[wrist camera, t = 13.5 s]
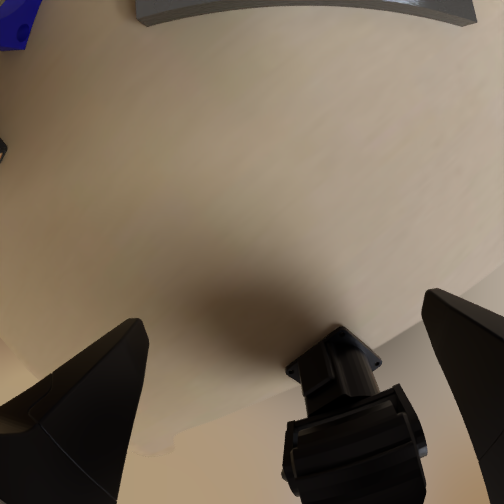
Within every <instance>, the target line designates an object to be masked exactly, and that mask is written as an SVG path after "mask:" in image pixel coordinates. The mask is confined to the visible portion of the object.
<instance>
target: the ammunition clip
mask: <svg viewBox="0 0 504 504" xmlns="http://www.w3.org/2000/svg"><path fill="white" fill-rule="evenodd" d="M6 151H7V146H6V145H5V143H4V142H3V141H2V139H1V138H0V163H1V161H2V159H3V157H4V155H5V153H6Z"/></svg>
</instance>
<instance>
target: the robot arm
mask: <svg viewBox="0 0 504 504" xmlns="http://www.w3.org/2000/svg"><path fill="white" fill-rule="evenodd" d="M421 315H422V319H423V322H424V325H425V327H426V330H427V332H428V335H429V338H430V340H431V344H432V347H433V349H434V352H435V355H436V357H437V359H438V362H439V364H440V366H441V368H442V370H443V372H444V375H445V377H446V379H447V381H448V384H449V386H450V388H451V391H452V393H453V395H454V398H455V400H456V403H457V405H458V407H459V410H460V412H461V415H462V417H463V420H464V423H465V425H466V428H467V430H468V433H469V436H470V439H471V441H472V444H473V447H474V450H475V453H476V456H477V459H478V461H479V465H480V469H481V472H482V475H483V479H484V482H485V485H486V489H487V492H488V496H489V500H490V504H504V317H503V316H501V315H498V314H496V313H494V312H492V311H490V310H487V309H485V308H483V307H481V306H478V305H476V304H474V303H472V302H469V301H467V300H464V299H462V298H460V297H458V296H455V295H453V294H451V293H448V292H446V291H444V290H441V289H439V288H434V289H428V290H427V291H426V292H425V296H424V301H423V306H422V311H421ZM341 332H343V333H342V334H340V333H341ZM148 349H149V339H148V336H147V333H146V330H145V327H144V325H143V322H142V320H141V319H139V318H129V319H127V320H125V321H124V322H122V323H121V324H120V325H118V326H117V327H115V328H114V329H112V330H111V331H110V332H108V333H107V334H105V335H104V336H103V337H101V338H100V339H98V340H97V341H95V342H94V343H93V344H91V345H90V346H88V347H87V348H86V349H84V350H83V351H81V352H80V353H79V354H77V355H76V356H74V357H73V358H72V359H70V360H69V361H67V362H66V363H65V364H63V365H62V366H60V367H59V368H58V369H56V370H55V371H53V373H50V374H49V375H48V376H46V377H45V378H44V379H42V380H41V381H39V382H38V383H36V384H35V385H34V386H32V387H31V388H29V389H27V390H26V391H24V392H23V393H21V394H20V395H18V396H16V397H15V398H13V399H11V400H10V401H8V402H7V403H5V404H3V405H2V406H0V504H117V501H116V500H117V498H118V493H119V487H120V483H121V478H122V473H123V467H124V463H125V458H126V454H127V449H128V445H129V440H130V436H131V432H132V428H133V423H134V419H135V415H136V411H137V407H138V403H139V399H140V395H141V392H142V387H143V382H144V376H145V369H146V362H147V356H148ZM376 362H377V363H376ZM381 364H382V360H381V358H380V357H379V356H377V355H376V354H375V353H374V352H373V351H372V350H371V349H369V348H368V347H367V346H366V345H365V344H364V343H363V342H361V341H360V340H359V339H358V338H357V337H356V336H354V335H353V334H352V333H351V332H350V331H349V330H348V329H346V328H345V327H339V328H337V329H336V330H335V331H333V332H332V333H331V334H330V335H328V336H327V337H326V338H324V339H323V340H322V341H321V342H319V343H318V344H317V345H315V346H314V347H313V348H311V349H310V350H309V351H307V352H306V353H305V354H303V355H302V356H301V357H299V358H298V359H297V360H295V361H294V362H292V363H291V364H290V365H288V366H287V367H286V368H285V372H286V375H288V376H289V377H291V378H292V379H294V380H296V381H297V382H299V383H300V384H301V387H302V394H303V396H304V397H305V404H306V411H307V417H308V418H305V419H301V420H298V421H295V420H294V421H290V422H287V431H286V433H285V445H284V454H283V464H282V466H283V469H282V472H281V475H282V478H283V479H284V480H285V481H287V482H288V484H289V486H290V489H291V491H292V492H293V494H294V495H295V496H297V497H299V496H300V498H301V502H302V504H423V503H424V499H425V496H426V480H425V476H424V472H423V468H422V464H421V460H420V458H422V457H424V456H427V444H426V440H425V436H424V433H423V429H422V426H421V424H420V421H419V419H418V416H417V414H416V413H415V411H414V409H413V407H412V405H411V403H410V402H409V400H408V398H407V397H406V395H405V393H404V391H403V389H402V388H401V386H400V384H396V385H394V386H393V387H392V388H390V389H387V390H385V391H383V392H380V390H379V387H378V385H377V382H376V380H375V377H374V374H373V371H374V370H375V369H377V368H378V367H380V366H381ZM290 370H292V371H290Z"/></svg>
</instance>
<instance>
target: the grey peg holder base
mask: <svg viewBox="0 0 504 504" xmlns="http://www.w3.org/2000/svg"><path fill="white" fill-rule="evenodd" d="M272 6H341V7H356V8H366V9H376V10H384V11H391V12H397V13H403V14H409V15H415V16H420V17H425V18H429V19H434V20H438V21H442V22H446V23H450V24H454V25H458V26H461V27H463V26H466V25H470V24H474V23H477V19H476V14H475V10H474V6H473V2H472V0H136V17H137V20H139V21H140V22H141V23H143V24H144V25H145V26H147V27H149V26H152V25H156V24H160V23H164V22H168V21H173V20H177V19H182V18H187V17H192V16H197V15H203V14H209V13H215V12H222V11H229V10H238V9H247V8H258V7H272Z"/></svg>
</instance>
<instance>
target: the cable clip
mask: <svg viewBox="0 0 504 504" xmlns="http://www.w3.org/2000/svg"><path fill="white" fill-rule="evenodd" d="M41 1H42V0H6V1H5V2H4V3H3V4H2V6H1V7H0V51H10V50H25V47H26V44H27V41H28V37H29V34H30V31H31V28H32V25H33V22H34V20H35V17H36V14H37V11H38V9H39V6H40V4H41Z"/></svg>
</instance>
